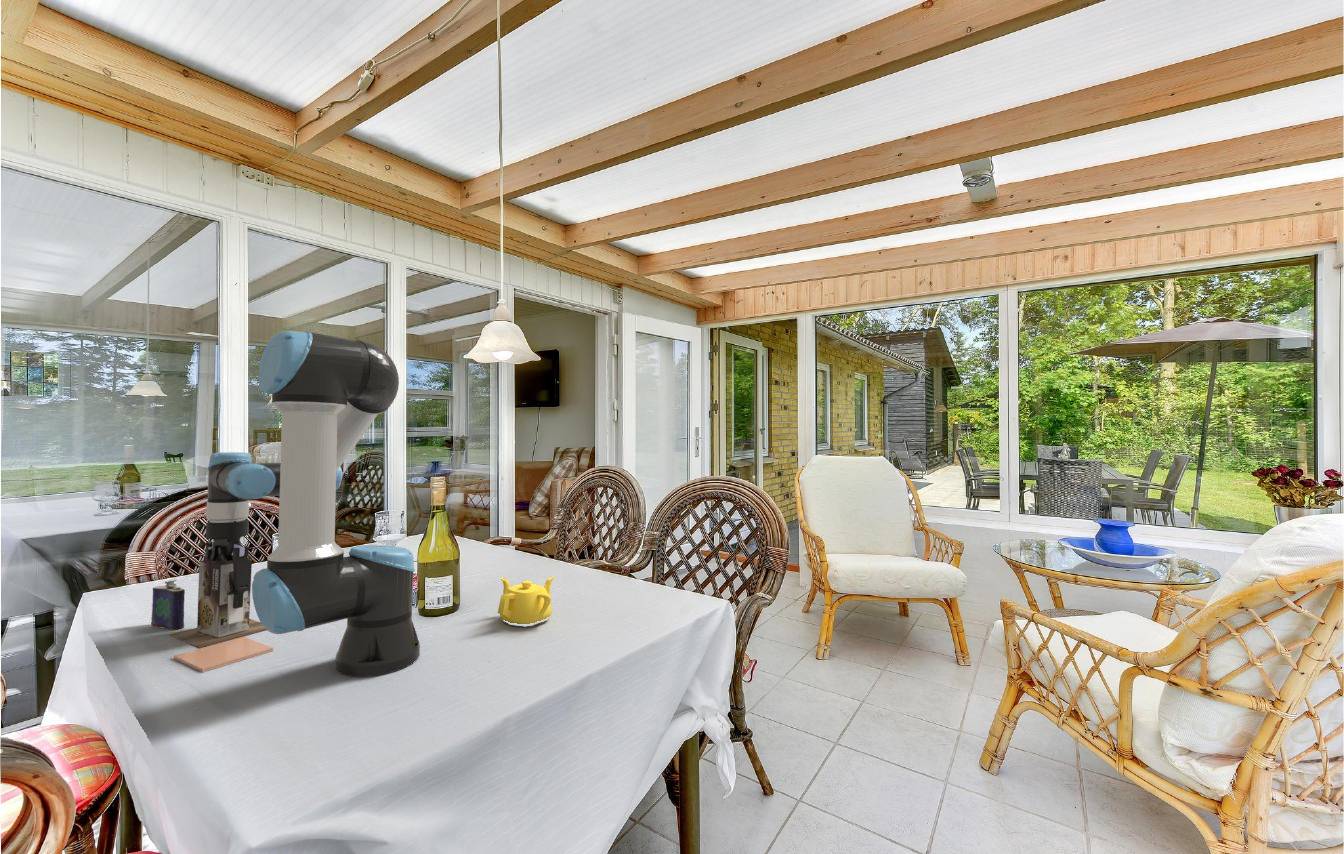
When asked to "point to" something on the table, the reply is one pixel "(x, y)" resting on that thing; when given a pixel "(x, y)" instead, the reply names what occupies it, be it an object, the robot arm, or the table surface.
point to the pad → (223, 653)
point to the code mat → (206, 640)
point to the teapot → (525, 602)
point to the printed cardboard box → (218, 599)
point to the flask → (168, 606)
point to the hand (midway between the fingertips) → (223, 617)
